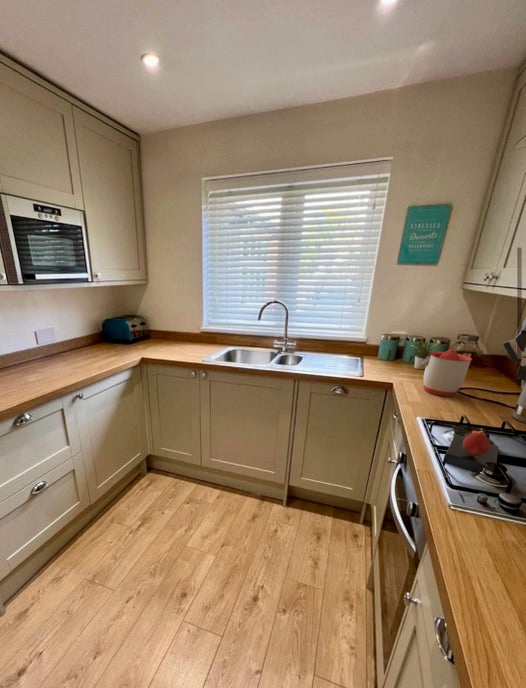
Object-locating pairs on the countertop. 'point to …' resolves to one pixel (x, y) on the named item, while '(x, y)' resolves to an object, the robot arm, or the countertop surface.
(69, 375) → the countertop surface
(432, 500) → the countertop surface
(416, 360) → the house plant
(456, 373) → the citrus juicer
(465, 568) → the countertop surface
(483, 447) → the onion
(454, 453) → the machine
